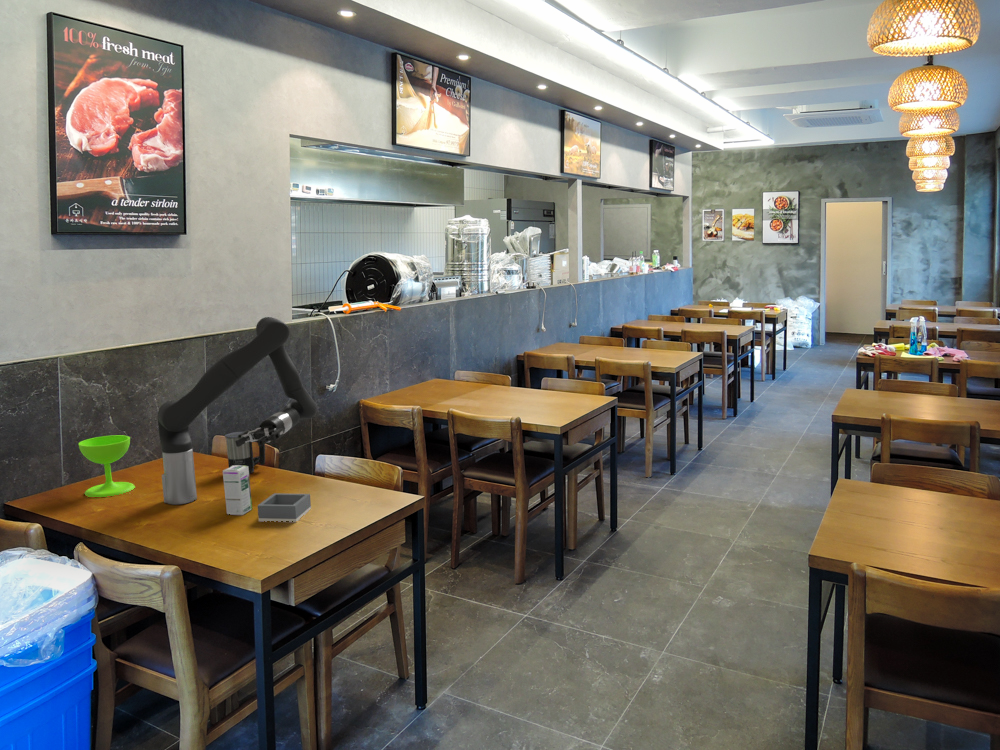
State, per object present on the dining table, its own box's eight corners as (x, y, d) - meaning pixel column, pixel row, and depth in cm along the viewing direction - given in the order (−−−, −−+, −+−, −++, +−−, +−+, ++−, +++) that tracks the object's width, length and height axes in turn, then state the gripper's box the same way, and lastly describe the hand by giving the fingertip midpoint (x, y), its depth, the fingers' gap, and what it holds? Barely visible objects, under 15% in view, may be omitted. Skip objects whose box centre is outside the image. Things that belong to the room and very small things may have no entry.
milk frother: (230, 477, 278) (227, 438, 276) (222, 467, 291) (219, 430, 289) (269, 471, 285) (267, 433, 282) (260, 462, 298) (258, 425, 296)
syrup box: (243, 515, 236) (239, 470, 234) (226, 514, 237) (222, 469, 235) (252, 509, 241) (249, 465, 239) (235, 508, 243) (232, 464, 240)
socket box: (258, 521, 230) (257, 505, 229) (275, 508, 242) (274, 493, 241) (296, 522, 229) (295, 506, 228) (311, 509, 240) (310, 493, 240)
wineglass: (143, 483, 273) (138, 434, 271) (122, 497, 258) (117, 445, 255) (98, 484, 273) (92, 436, 270) (74, 498, 257) (68, 447, 254)
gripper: (256, 416, 262) (226, 433, 247) (291, 414, 258) (263, 432, 243) (261, 436, 264) (232, 454, 249) (296, 435, 260) (269, 454, 245)
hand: (247, 443), depth 246 cm, fingers open, 8 cm apart
